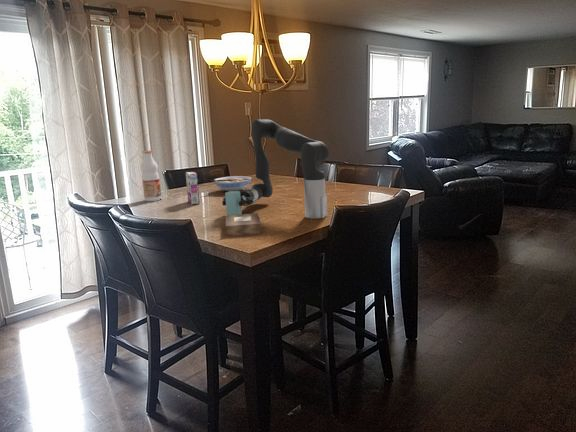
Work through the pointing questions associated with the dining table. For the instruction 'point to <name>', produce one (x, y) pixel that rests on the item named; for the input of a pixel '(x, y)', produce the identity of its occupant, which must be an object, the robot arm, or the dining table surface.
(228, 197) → the column
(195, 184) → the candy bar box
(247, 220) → the plinth
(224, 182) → the ramen bowl
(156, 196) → the fruit juice
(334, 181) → the dining table surface
